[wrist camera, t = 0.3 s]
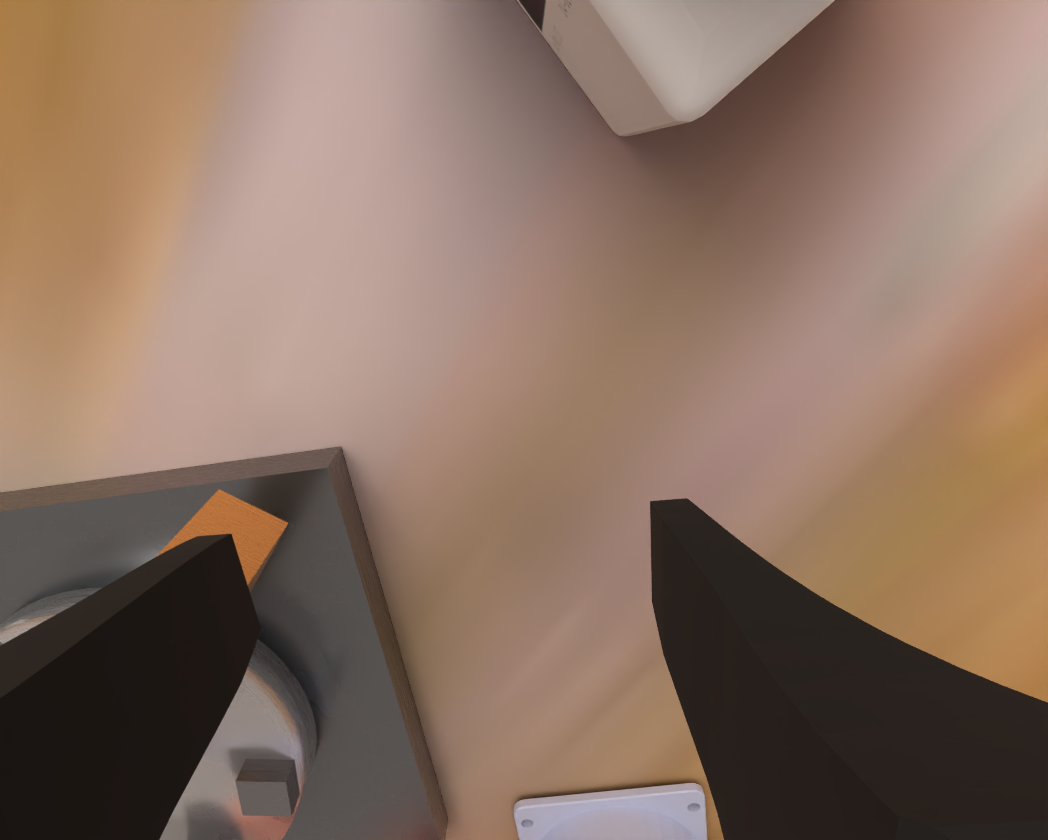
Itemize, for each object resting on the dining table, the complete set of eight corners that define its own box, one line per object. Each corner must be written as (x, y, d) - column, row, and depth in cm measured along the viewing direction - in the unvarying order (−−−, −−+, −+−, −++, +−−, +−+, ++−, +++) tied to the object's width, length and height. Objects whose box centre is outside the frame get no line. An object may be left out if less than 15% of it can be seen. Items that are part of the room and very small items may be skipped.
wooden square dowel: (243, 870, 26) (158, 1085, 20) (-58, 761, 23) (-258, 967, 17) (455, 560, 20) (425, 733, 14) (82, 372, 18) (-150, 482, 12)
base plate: (447, 817, 27) (443, 857, 26) (57, 856, 28) (29, 897, 27) (341, 446, 20) (325, 470, 19) (-169, 515, 21) (-224, 543, 20)
